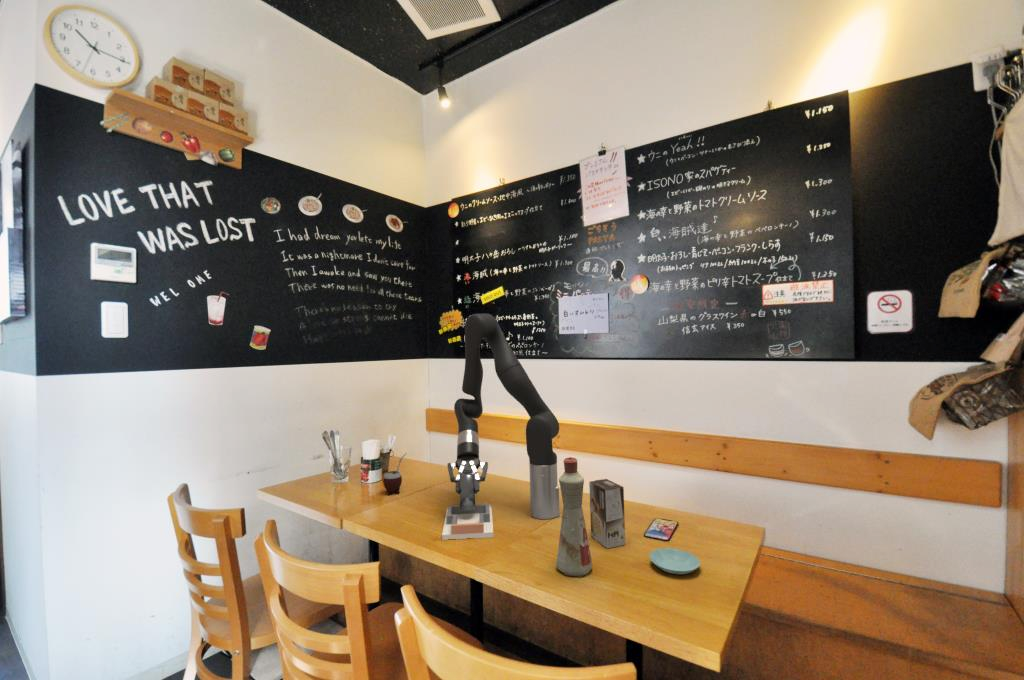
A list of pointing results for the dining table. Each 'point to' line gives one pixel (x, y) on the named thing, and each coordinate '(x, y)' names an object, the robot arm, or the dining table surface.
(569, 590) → the dining table surface
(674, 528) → the smartphone
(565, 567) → the bottle
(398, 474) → the mate gourd
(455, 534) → the keyhole guide
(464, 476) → the metal peg
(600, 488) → the coffee box
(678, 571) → the saucer
